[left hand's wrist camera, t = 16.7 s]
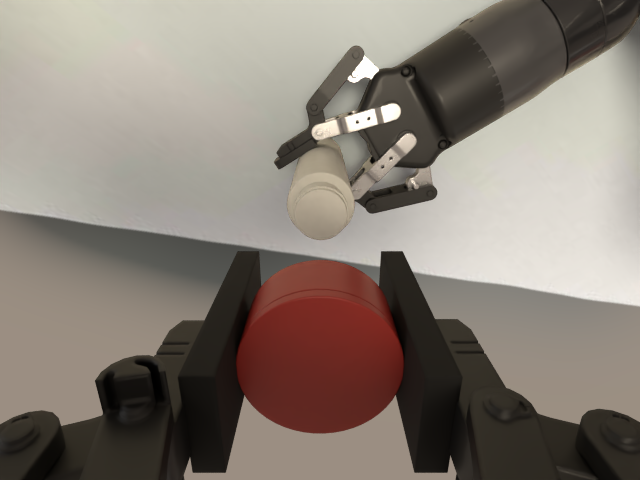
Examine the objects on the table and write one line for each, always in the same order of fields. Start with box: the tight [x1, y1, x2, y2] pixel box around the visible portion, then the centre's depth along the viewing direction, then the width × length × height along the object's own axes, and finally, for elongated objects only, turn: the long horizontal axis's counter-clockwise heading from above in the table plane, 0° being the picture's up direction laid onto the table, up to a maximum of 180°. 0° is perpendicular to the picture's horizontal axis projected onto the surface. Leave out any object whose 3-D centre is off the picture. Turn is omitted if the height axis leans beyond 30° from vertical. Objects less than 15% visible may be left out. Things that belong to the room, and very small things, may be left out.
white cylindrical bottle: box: [287, 138, 355, 240], centre depth 31 cm, size 4×4×18 cm
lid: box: [236, 260, 404, 433], centre depth 11 cm, size 4×4×2 cm
